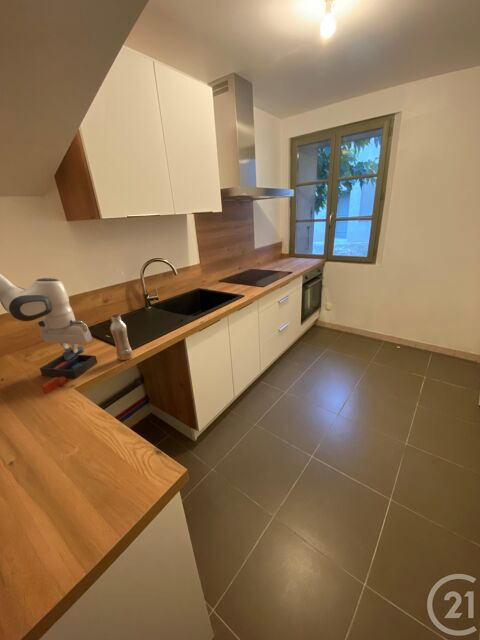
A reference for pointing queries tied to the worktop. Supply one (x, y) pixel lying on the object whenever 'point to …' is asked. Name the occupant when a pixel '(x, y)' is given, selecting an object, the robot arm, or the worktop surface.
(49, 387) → the red block
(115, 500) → the worktop surface
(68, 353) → the blue block
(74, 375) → the organiser
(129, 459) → the worktop surface
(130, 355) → the plastic bottle
